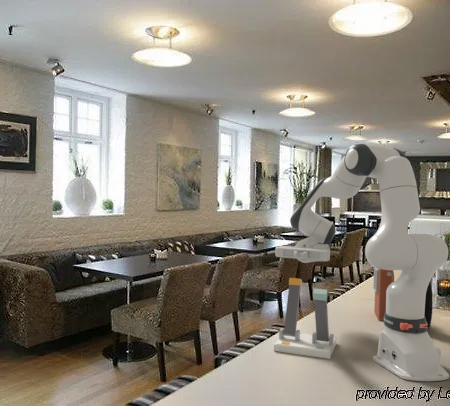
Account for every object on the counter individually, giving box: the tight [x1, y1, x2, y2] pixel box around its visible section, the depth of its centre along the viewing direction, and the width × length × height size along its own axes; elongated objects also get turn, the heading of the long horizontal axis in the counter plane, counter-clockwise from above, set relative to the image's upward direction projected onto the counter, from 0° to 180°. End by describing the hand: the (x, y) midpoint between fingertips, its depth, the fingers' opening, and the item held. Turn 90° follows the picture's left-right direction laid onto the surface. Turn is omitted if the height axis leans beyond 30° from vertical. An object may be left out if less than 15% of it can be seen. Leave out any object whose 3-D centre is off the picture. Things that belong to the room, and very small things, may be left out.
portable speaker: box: [424, 279, 434, 332], centre depth 170 cm, size 9×9×20 cm
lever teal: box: [312, 288, 330, 342], centre depth 144 cm, size 2×4×20 cm, turn 69°
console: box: [273, 327, 337, 360], centre depth 150 cm, size 15×18×5 cm
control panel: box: [372, 267, 395, 322], centre depth 188 cm, size 21×7×15 cm
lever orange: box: [283, 277, 303, 337], centre depth 155 cm, size 2×4×20 cm, turn 69°
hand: (298, 255), depth 162 cm, fingers closed
